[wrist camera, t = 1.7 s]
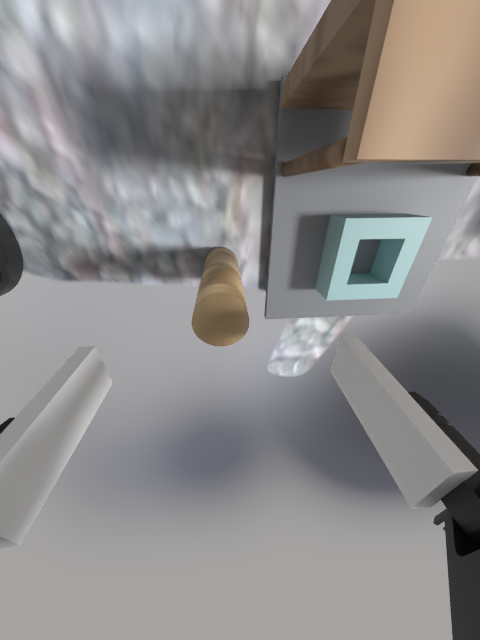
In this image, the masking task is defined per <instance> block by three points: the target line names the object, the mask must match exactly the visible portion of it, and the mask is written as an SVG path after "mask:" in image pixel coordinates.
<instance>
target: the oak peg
mask: <svg viewBox="0 0 480 640" xmlns="http://www.w3.org/2000/svg"><path fill="white" fill-rule="evenodd" d="M192 327H193V330H194V332H195V334H196V335H197V336H198V338H200V339H201V340H202V341H204V342H206V343H207V344H210V345H214V346H226V345H231V344H234V343H236V342H237V341H239V340H240V339H241V338H243V336H244V335H245V334H246V332H247V330H248V327H249V317H248V312H247V307H246V302H245V298H244V293H243V288H242V283H241V278H240V273H239V269H238V264H237V259H236V256H235V255H234V253H233V252H232V251H231V250H229V249H227V248H224V247H218V248H214V249H213V250H211V251H210V252H209V253H208V255H207V257H206V260H205V265H204V269H203V273H202V278H201V282H200V286H199V291H198V295H197V300H196V304H195V308H194V312H193V317H192Z"/></svg>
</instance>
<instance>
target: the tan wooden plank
mask: <svg viewBox="0 0 480 640" xmlns="http://www.w3.org/2000/svg"><path fill="white" fill-rule="evenodd" d="M281 108H283V109H339V110H353V114H352V118H351V123H350V128H349V133H348V137H346V138H343V139H341V140H339V141H336V142H334V143H331V144H329V145H326V146H324V147H322V148H319V149H317V150H314V151H312V152H309V153H307V154H305V155H302V156H300V157H297V158H295V159H293V160H290V161H288V162H285V163H284V164H283V165H282V166H281V170H280V171H281V174H282V176H284V177H288V176H294V175H299V174H305V173H310V172H316V171H321V170H326V169H332V168H337V167H343V166H348V165H354V164H359V163H473V164H471V165H470V166H469V167H468V169H467V172H466V175H467V176H480V0H331V2H330V3H329V5H328V7H327V9H326V10H325V12H324V14H323V16H322V17H321V19H320V21H319V22H318V24H317V26H316V28H315V29H314V31H313V33H312V34H311V36H310V38H309V40H308V41H307V43H306V45H305V47H304V48H303V50H302V52H301V53H300V55H299V57H298V59H297V60H296V62H295V64H294V65H293V67H292V69H291V71H290V72H289V74H288V76H287V77H286V79H285V81H284V83H283V88H282V101H281Z"/></svg>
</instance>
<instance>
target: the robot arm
mask: <svg viewBox="0 0 480 640" xmlns="http://www.w3.org/2000/svg"><path fill="white" fill-rule="evenodd" d="M22 271H23V260H22V254H21V250H20V247H19V244H18V242H17V240H16V238H15V236H14V234H13V232H12V230H11V228H10V227H9V225H8V224H7V222H6V221H5V219H4V218H3V217H2V215H1V214H0V296H1V295H3V294H6V293H7V292H9V291H11V290H12V289H13V288H14V287H15V286H16V285H17V284H18V282H19V280H20V278H21V275H22ZM330 371H331V373H332V375H333V376H334V378H335V380H336V382H337V383H338V385H339V387H340V388H341V390H342V392H343V393H344V395H345V397H346V398H347V400H348V402H349V403H350V405H351V407H352V409H353V410H354V412H355V414H356V415H357V417H358V419H359V420H360V422H361V424H362V426H363V427H364V429H365V431H366V432H367V434H368V436H369V437H370V439H371V441H372V442H373V444H374V446H375V448H376V449H377V451H378V453H379V454H380V456H381V458H382V459H383V461H384V463H385V464H386V466H387V468H388V470H389V471H390V473H391V475H392V476H393V478H394V480H395V481H396V483H397V485H398V487H399V488H400V490H401V491H402V493H403V495H404V497H405V498H406V500H407V502H408V504H409V505H410V507H411V508H421V507H432V506H433V505H435V504H436V503H437V502H438V501H440V500H442V502H443V503H444V505H445V506H446V508H447V509H445V510H444V511H443V512H441V513H440V514H439V515H437V516H435V518H434V522H433V523H434V524H436V525H439V524H440V523H442V522H444V521H445V527H444V528H443V529H444V530H445V533H446V546H447V562H448V577H449V590H450V606H451V620H452V634H453V640H480V454H479V453H478V452H477V451H476V450H475V449H474V448H473V447H472V446H471V445H470V444H469V443H468V442H467V440H465V438H464V437H463V436H462V435H461V434H460V433H459V432H458V431H457V430H456V429H455V428H454V427H453V426H450V423H449V422H448V421H447V420H446V419H445V418H444V417H443V416H441V415H440V413H439V412H438V411H437V410H436V409H435V407H433V405H432V404H430V403H429V401H427V400H426V399H424V398H423V397H421V396H420V395H419V394H417V393H416V392H407V391H406V390H405V389H404V388H403V387H402V386H401V385H400V384H399V383H398V381H397V380H396V379H395V378H394V377H393V376H392V375H391V374H390V373H389V371H388V370H387V369H386V368H385V367H384V366H383V365H382V364H381V363H380V362H379V360H378V359H377V358H376V357H375V356H374V355H373V354H372V353H371V352H370V351H369V349H368V348H367V347H366V346H365V345H364V344H363V343H362V342H361V341H360V340H359V339H358V337H357V336H356V335H355V334H348V335H341V337H340V340H339V343H338V347H337V350H336V353H335V356H334V360H333V363H332V366H331V370H330ZM112 383H113V382H112V380H111V378H110V376H109V374H108V372H107V370H106V368H105V366H104V364H103V361H102V359H101V358H100V355H99V353H98V351H97V349H96V347H95V346H90V347H79V348H78V350H77V351H76V352H75V353H74V354H73V355H72V356H71V357H70V358H69V359H68V360H67V362H66V363H65V364H64V365H63V366H62V367H61V368H60V369H59V370H58V372H57V373H56V374H55V375H54V376H53V377H52V378H51V379H50V380H49V381H48V382H47V384H46V385H45V386H44V387H43V388H42V389H41V390H40V391H39V392H38V394H37V395H36V396H35V397H34V398H33V399H32V400H31V401H30V402H29V403H28V404H27V406H26V407H25V408H24V409H23V410H22V411H21V412H20V413H19V414H18V416H16V418H9V419H8V420H7V421H5V422H4V423H3V424H1V425H0V548H2V547H11V546H20V544H21V542H22V541H23V539H24V537H25V535H26V533H27V532H28V530H29V529H30V527H31V525H32V523H33V521H34V520H35V518H36V516H37V515H38V513H39V511H40V509H41V508H42V506H43V504H44V502H45V501H46V499H47V497H48V495H49V494H50V492H51V490H52V488H53V486H54V485H55V483H56V481H57V480H58V478H59V476H60V474H61V472H62V471H63V469H64V467H65V465H66V464H67V462H68V460H69V458H70V457H71V455H72V453H73V451H74V450H75V448H76V446H77V444H78V443H79V441H80V439H81V437H82V436H83V434H84V432H85V430H86V429H87V427H88V425H89V423H90V422H91V420H92V418H93V416H94V415H95V413H96V411H97V409H98V408H99V406H100V404H101V402H102V401H103V399H104V397H105V395H106V394H107V392H108V390H109V388H110V387H111V385H112Z"/></svg>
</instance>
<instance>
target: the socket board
mask: <svg viewBox="0 0 480 640" xmlns="http://www.w3.org/2000/svg"><path fill="white" fill-rule="evenodd" d="M287 76H288V75H283V77H282V79H281V81H280V96H279V111H278V125H277V140H276V155H275V169H274V184H273V199H272V214H271V228H270V243H269V258H268V272H267V287H266V303H265V318H266V319H281V318H305V317H329V316H352V315H375V314H398V313H410V312H411V310H412V308H413V306H414V304H415V302H416V300H417V298H418V296H419V294H420V292H421V290H422V288H423V286H424V284H425V282H426V280H427V278H428V276H429V273H430V272H431V270H432V268H433V266H434V263H435V262H436V260H437V258H438V256H439V254H440V252H441V250H442V248H443V246H444V244H445V242H446V240H447V238H448V236H449V234H450V232H451V230H452V228H453V225H454V223H455V221H456V219H457V217H458V215H459V213H460V211H461V209H462V207H463V205H464V203H465V201H466V199H467V197H468V195H469V193H470V191H471V189H472V187H473V185H474V183H475V181H476V179H477V177H478V176H467V175H466V172H467V169H468V167H469V166H470V165H471V164H473V163H359V164H354V165H348V166H343V167H337V168H332V169H326V170H321V171H316V172H310V173H305V174H299V175H294V176H288V177H284V176H282V174H281V171H280V170H281V166H282V165H283V164H284V163H285V162H288V161H290V160H293V159H295V158H297V157H300V156H302V155H305V154H307V153H309V152H312V151H314V150H317V149H319V148H322V147H324V146H326V145H329V144H331V143H334V142H336V141H339V140H341V139H343V138H346V137H348V133H349V128H350V123H351V118H352V114H353V110H339V109H283V108H281V101H282V88H283V83H284V81H285V79H286V77H287Z"/></svg>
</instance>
